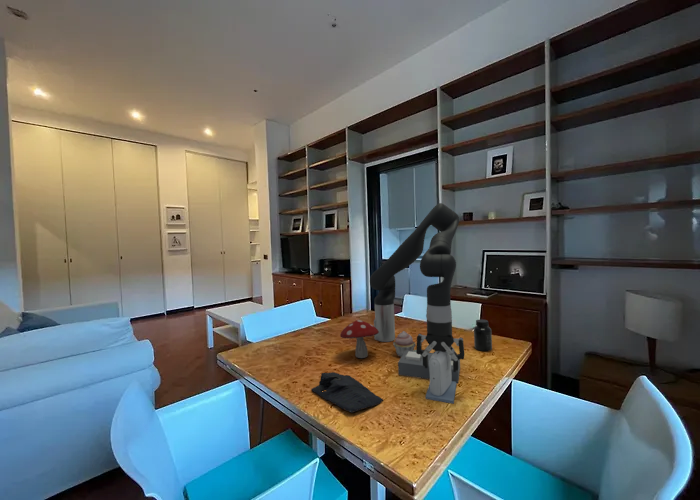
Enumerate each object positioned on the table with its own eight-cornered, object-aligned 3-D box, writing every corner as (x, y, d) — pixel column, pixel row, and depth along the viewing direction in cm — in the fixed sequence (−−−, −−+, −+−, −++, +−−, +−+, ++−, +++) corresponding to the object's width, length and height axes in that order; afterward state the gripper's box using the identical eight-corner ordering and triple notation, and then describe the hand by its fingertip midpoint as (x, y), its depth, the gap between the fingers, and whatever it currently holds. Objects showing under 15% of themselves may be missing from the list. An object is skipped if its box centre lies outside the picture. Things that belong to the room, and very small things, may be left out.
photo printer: (442, 397, 87) (440, 357, 86) (428, 393, 89) (426, 353, 89) (453, 383, 95) (452, 345, 94) (440, 379, 97) (439, 343, 97)
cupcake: (410, 349, 127) (410, 326, 126) (419, 357, 118) (418, 333, 117) (390, 351, 125) (389, 328, 125) (397, 360, 116) (396, 335, 116)
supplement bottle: (488, 345, 127) (487, 318, 127) (494, 351, 120) (494, 323, 120) (472, 345, 128) (471, 318, 127) (477, 351, 121) (476, 323, 120)
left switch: (405, 362, 106) (405, 356, 106) (408, 357, 111) (408, 351, 111) (419, 364, 104) (419, 358, 104) (422, 358, 109) (422, 352, 109)
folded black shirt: (345, 423, 79) (344, 405, 79) (308, 390, 97) (307, 376, 97) (387, 402, 88) (387, 387, 87) (346, 376, 106) (346, 363, 105)
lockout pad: (425, 398, 88) (425, 396, 88) (431, 380, 99) (431, 378, 99) (453, 403, 85) (453, 401, 85) (456, 384, 96) (456, 381, 96)
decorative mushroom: (334, 360, 119) (332, 324, 118) (352, 346, 133) (350, 314, 132) (370, 367, 111) (368, 328, 110) (385, 351, 125) (383, 317, 125)
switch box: (398, 374, 104) (397, 360, 104) (406, 361, 115) (405, 347, 115) (458, 383, 96) (457, 367, 96) (460, 368, 107) (459, 353, 107)
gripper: (464, 316, 92) (465, 367, 92) (418, 313, 97) (419, 361, 98) (462, 323, 85) (464, 378, 85) (413, 319, 90) (415, 371, 91)
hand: (440, 369), depth 92 cm, fingers open, 8 cm apart
